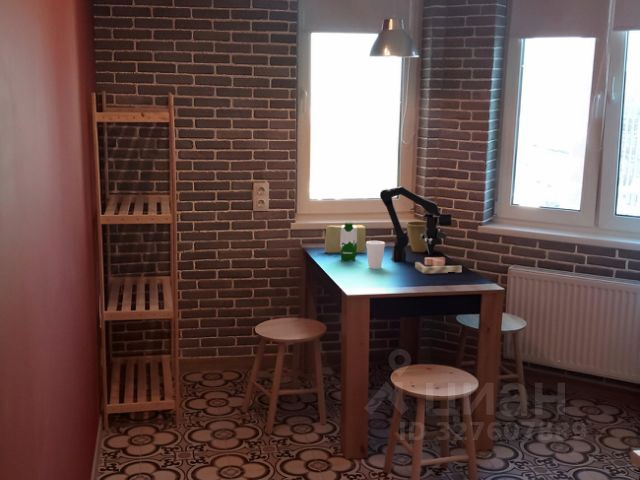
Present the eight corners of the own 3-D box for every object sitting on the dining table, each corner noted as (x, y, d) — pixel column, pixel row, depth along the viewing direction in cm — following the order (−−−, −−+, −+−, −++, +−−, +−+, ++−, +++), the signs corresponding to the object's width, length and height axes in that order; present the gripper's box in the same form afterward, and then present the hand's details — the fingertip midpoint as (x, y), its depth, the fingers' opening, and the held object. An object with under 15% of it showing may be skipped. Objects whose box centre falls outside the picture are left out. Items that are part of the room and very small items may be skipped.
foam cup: (386, 266, 397) (387, 241, 394) (380, 270, 388) (381, 244, 386) (369, 264, 401) (370, 240, 398) (362, 268, 392) (363, 243, 390)
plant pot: (400, 249, 442) (401, 222, 439) (423, 247, 448) (424, 220, 445) (414, 254, 428) (415, 226, 425) (437, 252, 434) (438, 224, 432)
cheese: (326, 254, 427) (326, 227, 424) (323, 250, 437) (323, 224, 434) (365, 253, 431) (366, 226, 428) (361, 249, 440) (362, 223, 438)
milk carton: (339, 261, 409) (340, 223, 405) (340, 257, 418) (341, 221, 414) (356, 261, 408) (356, 224, 404) (357, 258, 417) (357, 221, 413)
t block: (430, 268, 394) (431, 261, 394) (424, 264, 404) (424, 257, 404) (449, 267, 396) (449, 260, 396) (442, 263, 406) (443, 257, 405)
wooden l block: (423, 273, 382) (423, 267, 381) (414, 267, 394) (415, 262, 394) (461, 272, 386) (461, 266, 385) (452, 266, 398) (452, 261, 398)
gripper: (452, 228, 399) (451, 258, 402) (439, 222, 417) (438, 251, 420) (431, 228, 397) (430, 258, 400) (420, 223, 415) (419, 251, 418)
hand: (430, 254), depth 410 cm, fingers closed
